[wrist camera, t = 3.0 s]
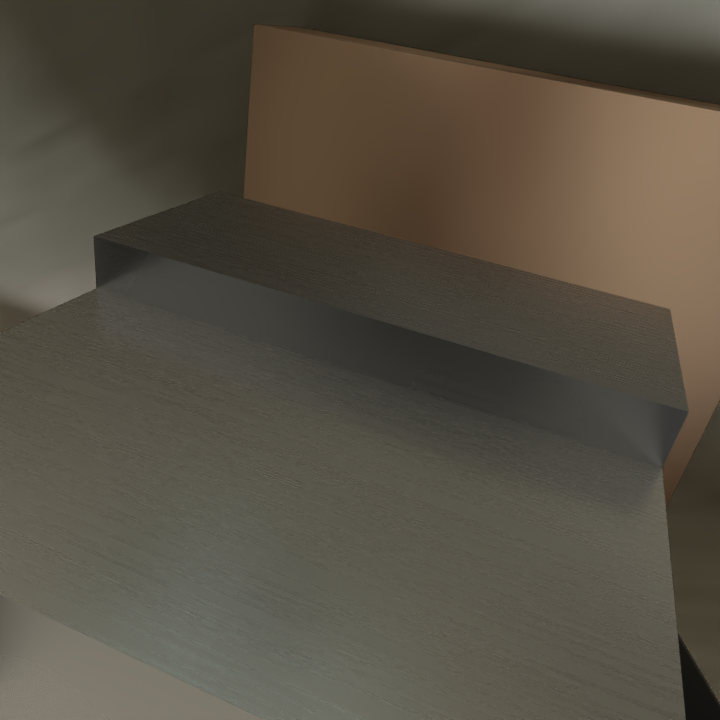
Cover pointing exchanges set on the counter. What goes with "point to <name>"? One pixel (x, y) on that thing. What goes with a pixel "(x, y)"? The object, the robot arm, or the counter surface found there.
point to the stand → (503, 175)
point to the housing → (334, 484)
